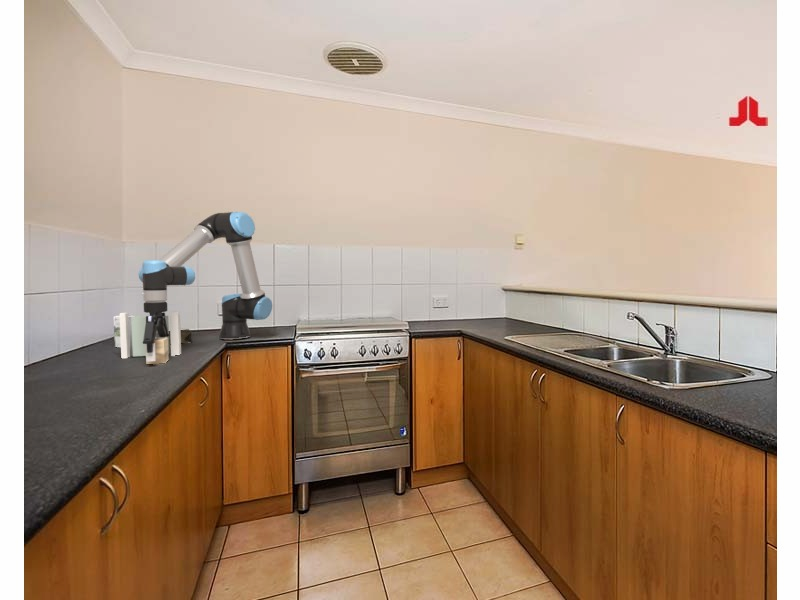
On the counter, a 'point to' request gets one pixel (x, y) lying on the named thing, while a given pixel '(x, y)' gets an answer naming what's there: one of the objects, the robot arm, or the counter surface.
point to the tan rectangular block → (160, 351)
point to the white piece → (174, 334)
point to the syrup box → (118, 330)
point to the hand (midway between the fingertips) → (157, 357)
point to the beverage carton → (184, 336)
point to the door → (140, 335)
